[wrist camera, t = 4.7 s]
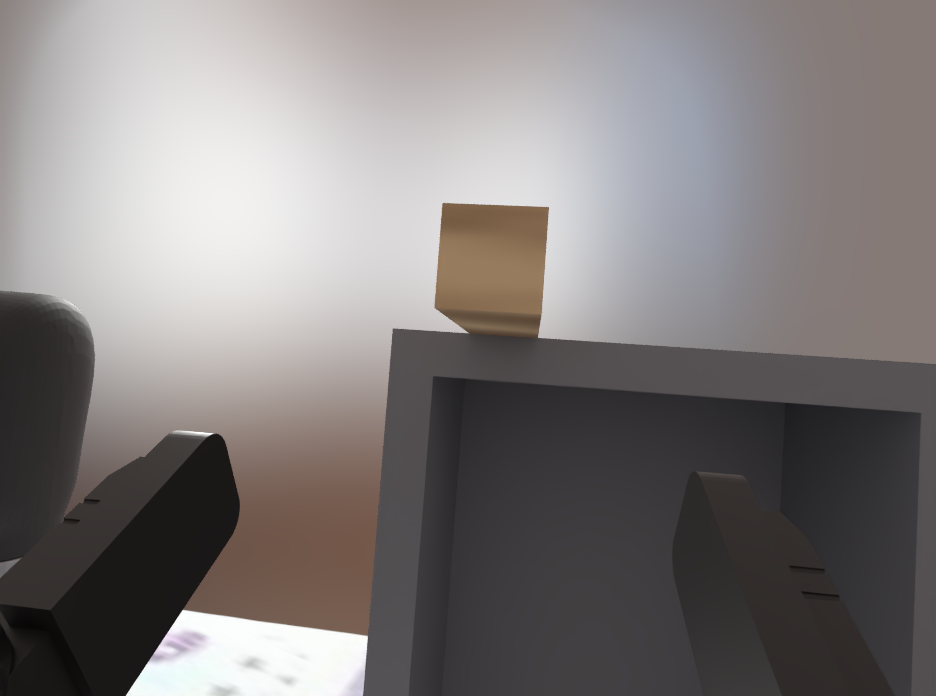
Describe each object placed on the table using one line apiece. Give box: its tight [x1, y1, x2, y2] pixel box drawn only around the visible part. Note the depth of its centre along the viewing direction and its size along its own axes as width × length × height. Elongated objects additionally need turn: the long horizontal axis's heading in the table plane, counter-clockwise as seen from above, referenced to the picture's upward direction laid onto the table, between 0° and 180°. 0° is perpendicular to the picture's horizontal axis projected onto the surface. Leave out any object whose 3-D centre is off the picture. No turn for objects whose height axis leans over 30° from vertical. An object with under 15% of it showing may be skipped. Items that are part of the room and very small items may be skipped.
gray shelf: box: [363, 329, 936, 696], centre depth 30 cm, size 14×24×32 cm, turn 84°
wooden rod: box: [435, 203, 549, 338], centre depth 26 cm, size 22×3×3 cm, turn 173°
